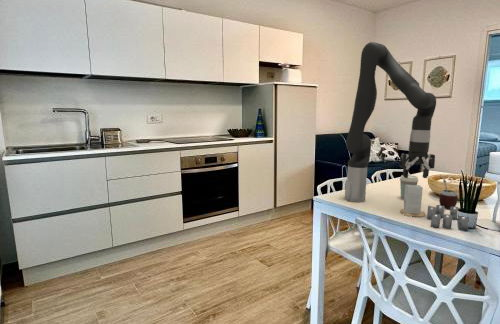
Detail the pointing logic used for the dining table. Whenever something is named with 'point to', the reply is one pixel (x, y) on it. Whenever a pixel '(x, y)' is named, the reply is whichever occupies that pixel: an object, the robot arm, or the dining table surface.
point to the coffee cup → (407, 183)
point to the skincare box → (412, 199)
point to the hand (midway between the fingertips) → (415, 177)
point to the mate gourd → (448, 197)
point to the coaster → (413, 214)
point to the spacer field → (447, 218)
